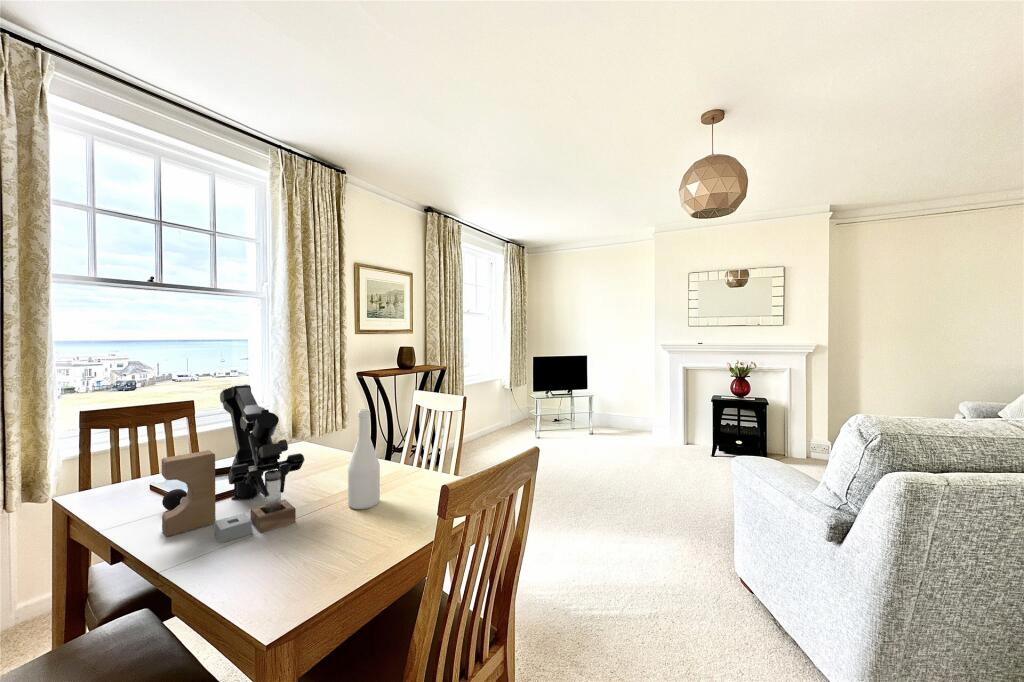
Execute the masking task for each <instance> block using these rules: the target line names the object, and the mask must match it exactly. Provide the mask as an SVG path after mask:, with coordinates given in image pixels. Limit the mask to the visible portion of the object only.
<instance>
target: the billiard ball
mask: <svg viewBox="0 0 1024 682" xmlns="http://www.w3.org/2000/svg"><path fill="white" fill-rule="evenodd" d="M186 496H187V491H186V490H184V489H182V488H175V489H173V490H172V489H171V490H169V491H167V492H166V494H165V495H164V496H163V498H162V501H161V504H162V506H163V508H164V509H166V510H167V511H171V510H173V509H175V508H176V507H177V506H178V505H179V504H181V503H182V501H183V500H184V499H185V497H186Z"/></svg>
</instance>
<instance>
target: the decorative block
mask: <svg viewBox="0 0 1024 682" xmlns="http://www.w3.org/2000/svg"><path fill="white" fill-rule="evenodd" d="M161 476H162V477H163V478H164V480H165V481H179V482H182V483H184V484H185V485H186V488H187V491H186V492H187V496H186V497H185V499H184V500H183V501H182V503H181V504H179V505H178V506H177V507H176V508H175V509H173V510H167V512H163V513H162V515H161V531H162V532H163V534H164V536H165V537H167V538H169V537H172V535H173V536H176V535H179V533H180V534H183V533H187V532H190V531H193V530H197V529H201V528H204V527H207V526H211V525H214V521H216V518H217V517H216V516H217V515H216V454H215V453H213V452H212V451H211V450H210V449H209V450H208V449H207V450H203V451H202V450H201V451H196V452H192V453H186V454H180V455H174V456H168V457H162V459H161ZM186 531H187V532H186ZM175 534H176V535H175ZM168 536H169V537H168Z"/></svg>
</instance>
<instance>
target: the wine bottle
mask: <svg viewBox="0 0 1024 682" xmlns="http://www.w3.org/2000/svg"><path fill="white" fill-rule="evenodd" d="M357 417H358V427H357V428H358V431H357V432H358V433H357V434H358V435H357V438H356V439H357V440H356V442H355V446H354V448H353V452H352V455H351V457H350V460H349V464H348V466H347V504H348V507H349V508H350V509H353V510H366V509H367V510H368V509H371V508H373V507H375V506H376V505H378V504H379V503H380V500H381V499H380V498H381V490H380V489H381V487H380V486H381V484H380V483H381V482H380V481H381V473H380V472H381V470H380V469H381V466H380V462H379V458H378V455H377V454H376V450H375V447H374V444H373V441H372V439H371V435H370V434H371V429H370V426H371V425H370V417H371V411H370V409H369V408H361V409H359V410H358V412H357Z"/></svg>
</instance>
